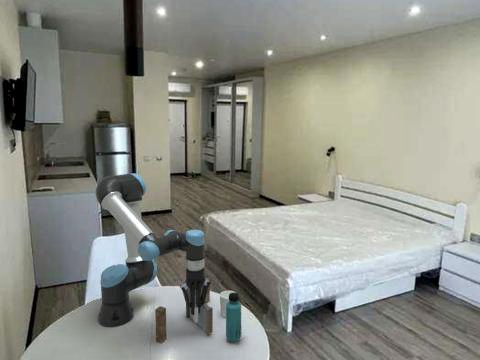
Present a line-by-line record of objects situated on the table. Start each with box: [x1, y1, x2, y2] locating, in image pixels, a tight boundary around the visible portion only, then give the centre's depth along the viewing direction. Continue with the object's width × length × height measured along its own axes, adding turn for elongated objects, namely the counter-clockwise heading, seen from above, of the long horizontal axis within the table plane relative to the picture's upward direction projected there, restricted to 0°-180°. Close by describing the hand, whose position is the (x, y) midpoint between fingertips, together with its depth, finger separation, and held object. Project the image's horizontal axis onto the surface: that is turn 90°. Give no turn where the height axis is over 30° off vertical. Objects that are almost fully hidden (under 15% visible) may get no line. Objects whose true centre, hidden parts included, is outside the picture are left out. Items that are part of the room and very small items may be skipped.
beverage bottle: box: [225, 292, 242, 342], centre depth 139 cm, size 6×7×20 cm
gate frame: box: [154, 277, 211, 344], centre depth 154 cm, size 3×38×14 cm, turn 154°
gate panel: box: [189, 295, 214, 335], centre depth 148 cm, size 16×2×12 cm, turn 37°
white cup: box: [219, 290, 237, 319], centre depth 159 cm, size 8×8×10 cm
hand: (195, 320), depth 144 cm, fingers closed
